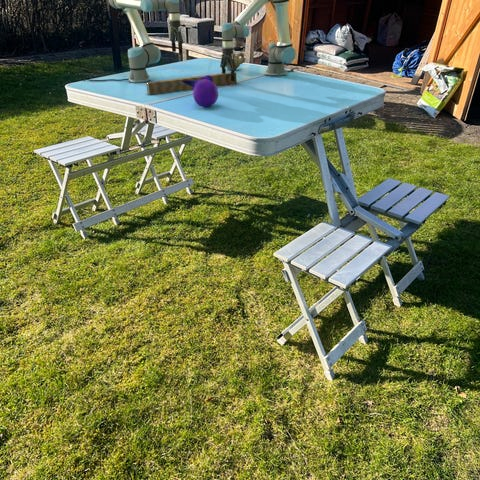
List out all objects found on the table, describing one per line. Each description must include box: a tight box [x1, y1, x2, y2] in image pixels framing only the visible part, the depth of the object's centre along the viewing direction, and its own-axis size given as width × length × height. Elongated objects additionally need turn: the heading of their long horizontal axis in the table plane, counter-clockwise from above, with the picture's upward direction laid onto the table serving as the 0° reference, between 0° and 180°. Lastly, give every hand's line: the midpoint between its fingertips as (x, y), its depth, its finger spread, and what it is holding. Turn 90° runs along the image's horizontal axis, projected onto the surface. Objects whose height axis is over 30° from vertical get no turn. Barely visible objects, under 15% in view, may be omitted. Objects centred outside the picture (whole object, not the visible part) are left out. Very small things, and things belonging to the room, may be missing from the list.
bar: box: [145, 71, 238, 96], centre depth 311 cm, size 66×5×8 cm, turn 119°
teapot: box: [225, 51, 245, 71], centre depth 369 cm, size 21×12×15 cm, turn 120°
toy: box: [182, 74, 219, 108], centre depth 268 cm, size 16×18×27 cm
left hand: (177, 53), depth 323 cm, fingers open, 13 cm apart
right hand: (228, 79), depth 323 cm, fingers open, 13 cm apart
